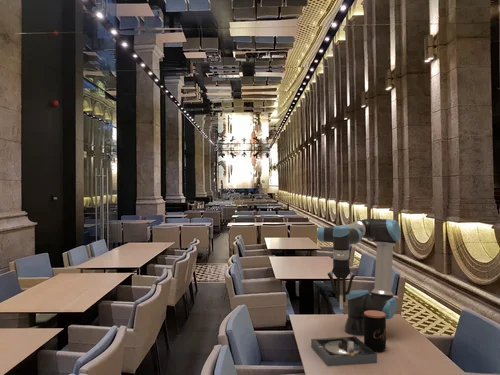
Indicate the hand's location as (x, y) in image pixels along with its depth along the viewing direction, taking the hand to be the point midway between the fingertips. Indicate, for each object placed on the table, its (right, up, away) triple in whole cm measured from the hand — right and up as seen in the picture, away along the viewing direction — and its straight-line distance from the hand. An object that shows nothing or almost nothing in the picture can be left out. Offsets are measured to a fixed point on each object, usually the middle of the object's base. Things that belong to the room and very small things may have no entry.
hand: (341, 308), depth 193 cm
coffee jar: (+20, -25, +14) cm, 35 cm away
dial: (+2, -22, +7) cm, 23 cm away
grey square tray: (+2, -24, +7) cm, 25 cm away
